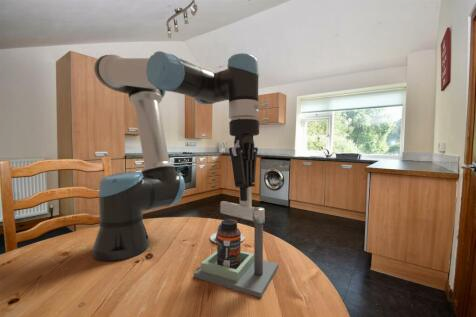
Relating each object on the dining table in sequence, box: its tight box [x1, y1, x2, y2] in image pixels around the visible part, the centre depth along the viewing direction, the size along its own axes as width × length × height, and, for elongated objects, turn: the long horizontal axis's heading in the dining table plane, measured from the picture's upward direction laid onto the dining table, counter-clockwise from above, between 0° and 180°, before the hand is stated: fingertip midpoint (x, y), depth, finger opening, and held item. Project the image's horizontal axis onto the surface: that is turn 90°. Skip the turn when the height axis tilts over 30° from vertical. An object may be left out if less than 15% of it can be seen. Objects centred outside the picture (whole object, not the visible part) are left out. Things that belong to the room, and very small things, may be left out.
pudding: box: [209, 223, 245, 244], centre depth 75 cm, size 12×12×5 cm
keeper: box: [219, 200, 266, 224], centre depth 54 cm, size 13×3×3 cm, turn 50°
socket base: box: [193, 222, 279, 299], centre depth 54 cm, size 17×13×13 cm
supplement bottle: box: [216, 218, 242, 269], centre depth 55 cm, size 6×6×11 cm
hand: (245, 212), depth 55 cm, fingers closed
